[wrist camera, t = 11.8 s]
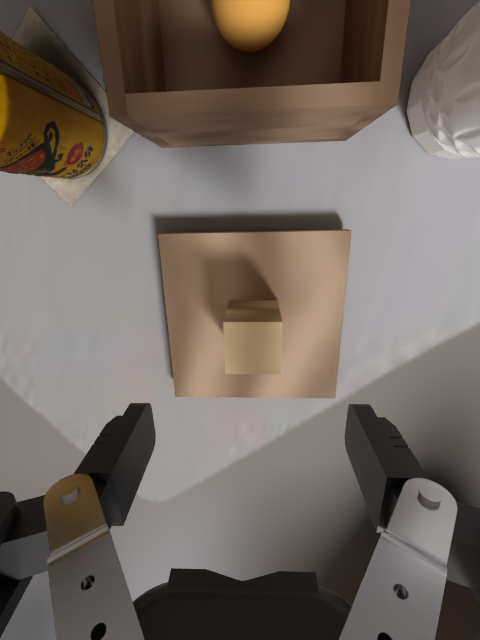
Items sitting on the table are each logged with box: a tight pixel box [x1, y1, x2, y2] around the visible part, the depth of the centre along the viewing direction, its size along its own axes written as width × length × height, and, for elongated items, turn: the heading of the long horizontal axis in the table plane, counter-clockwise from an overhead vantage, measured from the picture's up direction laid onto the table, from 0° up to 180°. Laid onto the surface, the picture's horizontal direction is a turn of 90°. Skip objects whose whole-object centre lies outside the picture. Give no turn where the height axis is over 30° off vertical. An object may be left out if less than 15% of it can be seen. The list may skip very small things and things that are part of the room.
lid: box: [158, 229, 351, 398], centre depth 22 cm, size 13×13×6 cm
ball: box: [211, 0, 290, 52], centre depth 16 cm, size 4×4×4 cm
